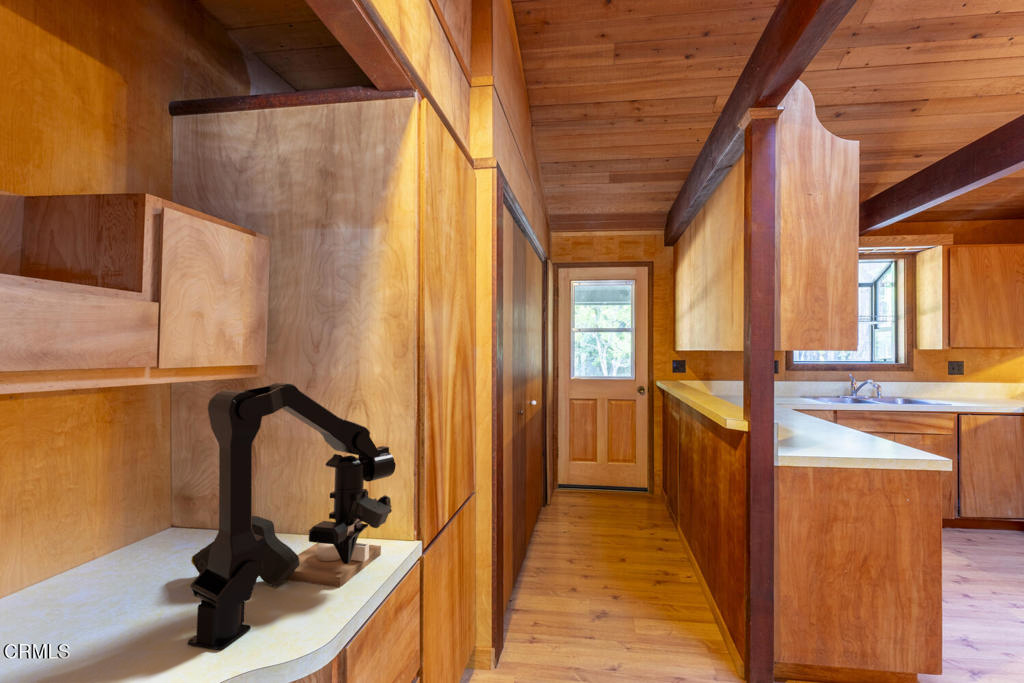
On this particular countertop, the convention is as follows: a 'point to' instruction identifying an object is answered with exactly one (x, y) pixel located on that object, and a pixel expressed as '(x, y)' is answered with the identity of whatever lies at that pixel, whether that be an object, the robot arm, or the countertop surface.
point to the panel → (329, 568)
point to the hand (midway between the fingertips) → (346, 563)
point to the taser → (276, 553)
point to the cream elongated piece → (330, 554)
